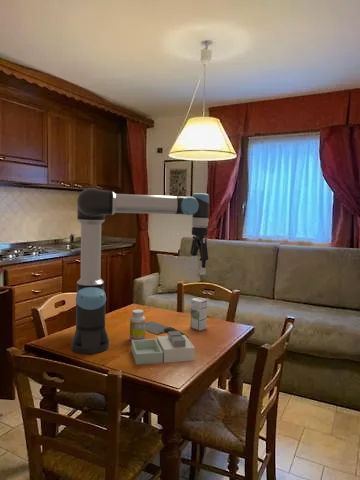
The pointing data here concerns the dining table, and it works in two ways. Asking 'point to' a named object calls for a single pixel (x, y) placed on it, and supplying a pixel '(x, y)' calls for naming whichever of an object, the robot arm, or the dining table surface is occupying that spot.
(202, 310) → the syrup box
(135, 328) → the supplement bottle
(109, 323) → the dining table surface
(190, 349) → the plate
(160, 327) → the cleaver
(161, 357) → the box
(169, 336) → the slate tile
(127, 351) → the dining table surface
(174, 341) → the slate tile
